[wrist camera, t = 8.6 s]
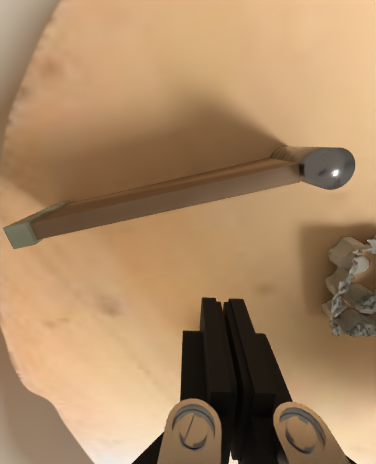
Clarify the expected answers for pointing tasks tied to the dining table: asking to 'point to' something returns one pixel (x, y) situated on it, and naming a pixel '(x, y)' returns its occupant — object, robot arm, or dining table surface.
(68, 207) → the gate
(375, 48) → the dining table surface
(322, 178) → the gate posts
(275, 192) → the dining table surface
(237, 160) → the dining table surface
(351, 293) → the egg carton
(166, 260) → the dining table surface
